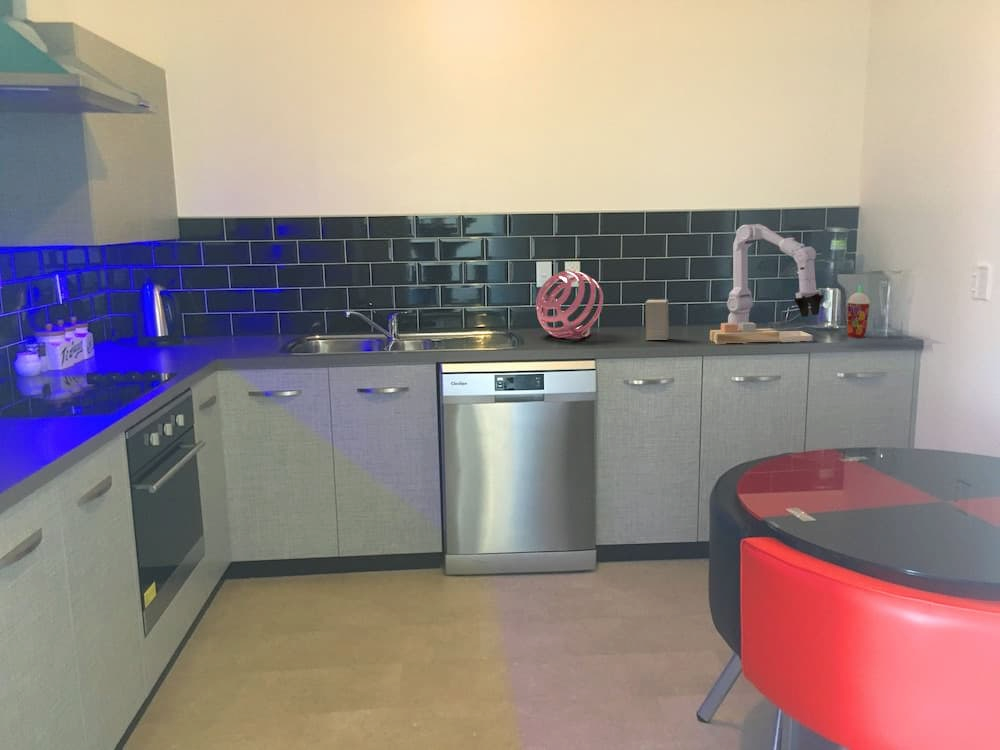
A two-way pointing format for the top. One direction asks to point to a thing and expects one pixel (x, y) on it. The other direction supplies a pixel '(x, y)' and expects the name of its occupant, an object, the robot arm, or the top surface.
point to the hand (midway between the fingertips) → (810, 315)
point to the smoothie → (857, 314)
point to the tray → (794, 336)
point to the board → (744, 336)
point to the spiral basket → (563, 315)
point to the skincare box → (657, 320)
